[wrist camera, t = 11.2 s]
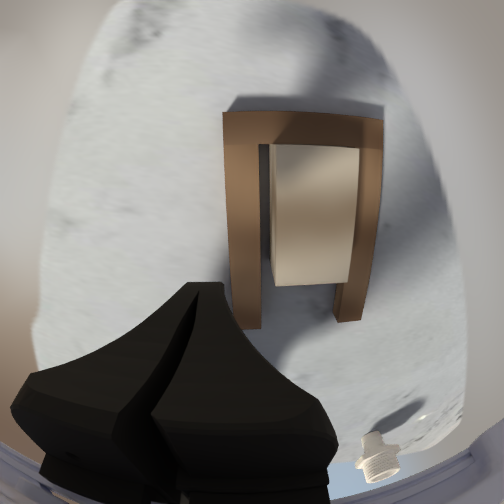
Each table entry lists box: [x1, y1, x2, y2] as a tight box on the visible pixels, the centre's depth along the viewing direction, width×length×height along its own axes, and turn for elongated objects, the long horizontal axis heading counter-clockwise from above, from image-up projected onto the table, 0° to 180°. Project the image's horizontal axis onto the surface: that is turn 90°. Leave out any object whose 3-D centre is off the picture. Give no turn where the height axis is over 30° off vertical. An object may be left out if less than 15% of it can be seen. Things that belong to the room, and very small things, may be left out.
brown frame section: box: [222, 111, 383, 330], centre depth 18 cm, size 15×10×2 cm, turn 1°
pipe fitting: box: [355, 431, 401, 483], centre depth 28 cm, size 6×7×8 cm
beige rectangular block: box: [269, 144, 359, 286], centre depth 16 cm, size 8×4×4 cm, turn 1°
